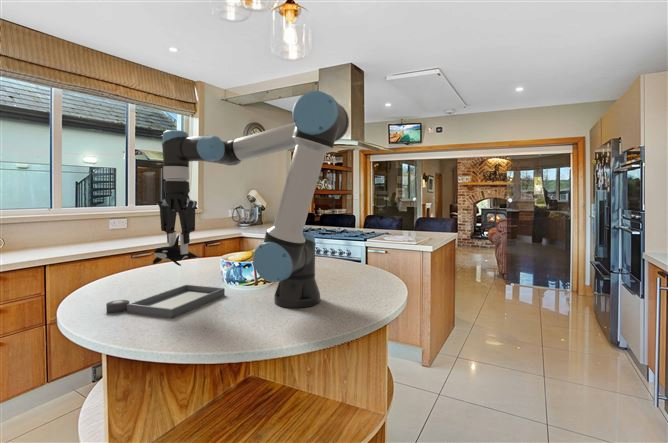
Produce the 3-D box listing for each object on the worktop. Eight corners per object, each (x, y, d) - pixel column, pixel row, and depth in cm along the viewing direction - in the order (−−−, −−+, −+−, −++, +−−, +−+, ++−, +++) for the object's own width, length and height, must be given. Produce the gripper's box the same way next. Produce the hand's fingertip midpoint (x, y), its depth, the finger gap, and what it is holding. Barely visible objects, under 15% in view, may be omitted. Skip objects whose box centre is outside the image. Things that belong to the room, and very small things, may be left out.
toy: (166, 264, 104) (171, 230, 106) (138, 262, 107) (143, 229, 109) (209, 268, 125) (212, 239, 126) (184, 266, 127) (188, 238, 129)
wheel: (134, 308, 112) (133, 300, 112) (117, 314, 106) (116, 305, 106) (119, 306, 114) (118, 298, 114) (101, 312, 108) (101, 303, 108)
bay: (224, 295, 127) (224, 288, 127) (171, 318, 103) (171, 309, 103) (186, 291, 132) (185, 284, 132) (127, 312, 108) (126, 304, 108)
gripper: (206, 180, 116) (208, 253, 118) (164, 181, 121) (166, 250, 123) (190, 179, 109) (192, 256, 110) (146, 180, 114) (148, 254, 116)
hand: (178, 253), depth 117 cm, fingers closed on toy, 4 cm apart
